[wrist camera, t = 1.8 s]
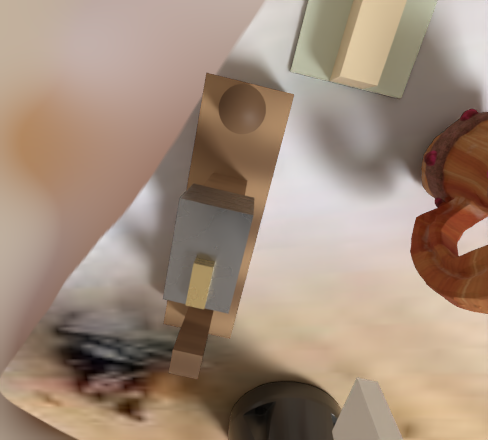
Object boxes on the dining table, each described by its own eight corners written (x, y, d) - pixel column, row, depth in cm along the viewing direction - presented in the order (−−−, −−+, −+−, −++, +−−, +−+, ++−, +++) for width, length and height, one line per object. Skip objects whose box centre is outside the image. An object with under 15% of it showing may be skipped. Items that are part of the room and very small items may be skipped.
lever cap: (233, 282, 24) (227, 321, 20) (178, 269, 24) (159, 306, 19) (254, 197, 22) (253, 219, 17) (193, 183, 22) (176, 201, 17)
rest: (399, 98, 28) (421, 96, 24) (290, 71, 27) (295, 65, 23) (448, -35, 24) (483, -62, 20) (325, -68, 24) (337, -101, 20)
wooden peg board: (233, 314, 36) (222, 397, 25) (173, 301, 36) (138, 379, 25) (289, 96, 28) (307, 87, 18) (213, 78, 28) (186, 57, 17)
